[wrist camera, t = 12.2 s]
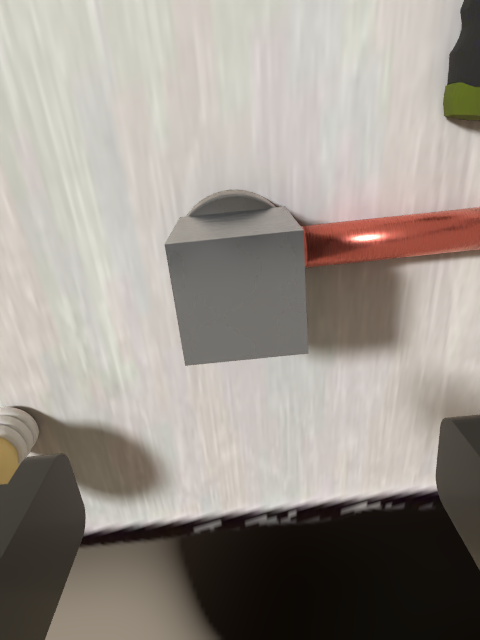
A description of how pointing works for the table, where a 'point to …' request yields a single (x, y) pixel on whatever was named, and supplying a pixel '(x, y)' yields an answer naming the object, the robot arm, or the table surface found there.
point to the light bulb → (15, 440)
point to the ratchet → (366, 232)
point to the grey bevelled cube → (239, 285)
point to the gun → (465, 67)
